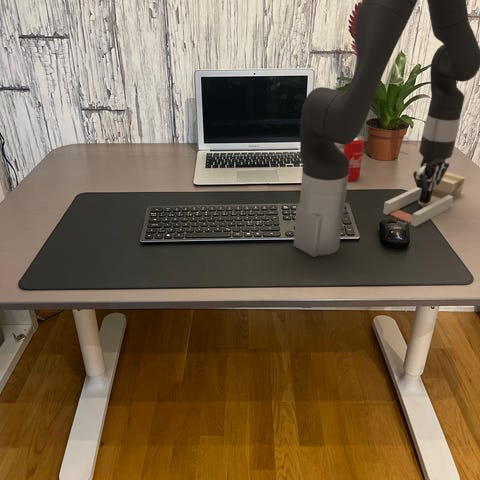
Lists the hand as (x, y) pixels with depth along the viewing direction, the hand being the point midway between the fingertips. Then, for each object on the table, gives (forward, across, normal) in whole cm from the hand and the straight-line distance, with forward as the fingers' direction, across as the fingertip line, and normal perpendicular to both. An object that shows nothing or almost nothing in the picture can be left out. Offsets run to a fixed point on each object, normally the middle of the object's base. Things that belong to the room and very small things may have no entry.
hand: (424, 202), depth 124 cm
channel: (+1, +3, 0) cm, 3 cm away
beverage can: (+1, 0, -23) cm, 23 cm away
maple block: (+1, -11, 0) cm, 11 cm away
